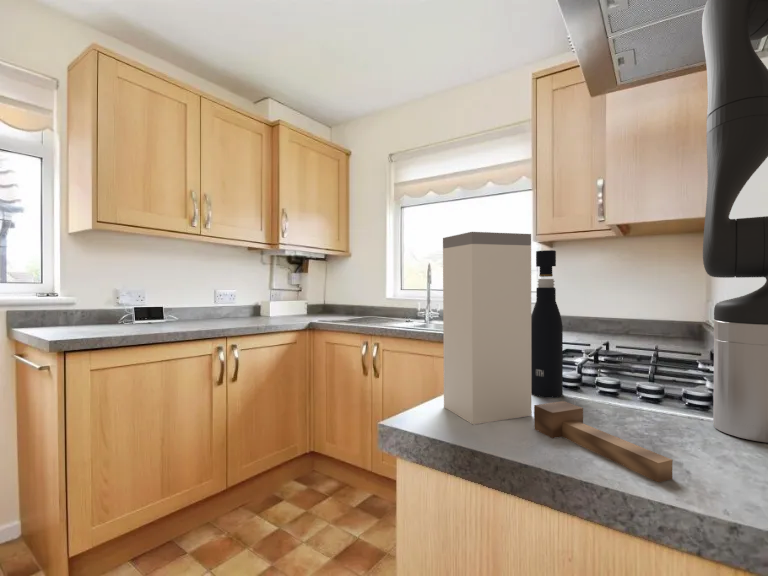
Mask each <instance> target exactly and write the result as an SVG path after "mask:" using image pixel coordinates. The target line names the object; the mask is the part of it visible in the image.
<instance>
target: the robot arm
mask: <svg viewBox="0 0 768 576" xmlns="http://www.w3.org/2000/svg"><path fill="white" fill-rule="evenodd" d="M701 32H702V41H703V49H704V56H705V64H706V65H705V66H706V78H707V79H706V81H707V83H706V86H707V107H706V108H707V110H706V165H707V167H706V169H707V188H706V189H707V190H706V203H705V215H704V226H703V227H704V228H703V240H702V241H703V242H702V263H703V268H704V270H705V272H706V274H707V275H709V276H710V277H712V278H724V279H725V278H727V279H729V278H731V279H733V278H739V279H741V278H742V279H743V278H765V283H764V284H763V285H762V286H761V287H760V288H758V289H756V290H754V291H752V292H748V293H747V294H744V295H741V296H738V297H734V298H730V299H724V300H722V301H719V302H717V303H716V304H715V305H714V307H713V308H714V309H713V404H712V405H713V407H712V408H713V410H712V411H713V412H712V413H713V414H712V415H713V417H712V418H713V419H712V421H713V424H712V425H713V427H714V428H715V429H717V430H718V431H720V432H722V433H725V434H728V435H731V436H733V437H737V438H741V439H746V440H747V441H748V440H749V441H753V442H754V441H755V442H761V443H768V216H767V215H766V216H754V217H742V218H741V217H740V218H730V215H731V211H732V208H733V206H734V204H735V202H736V200H737V198H738V196H739V195H740V193H741V191H742V190H743V188H744V187H745V186H746V184H747V183H748V182H749V180H750V179H751V177H752V176H753V175H754V174H755V172H756V171H757V170H758V169H759V168H760V167H761V165H762V164H763V163H764V162H765V161H766V160H767V159H768V68H767V66H766V64H765V63H764V62H763V61H762V59H761V58H760V57H759V55H758V54H757V52H756V51H755V49H754V46H753V44H752V41H756V40H757V41H758V40H760V39H763V38H765V37H767V36H768V0H706V3H705V5H704V8H703V13H702V19H701Z"/></svg>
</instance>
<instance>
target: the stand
mask: <svg viewBox="0 0 768 576" xmlns="http://www.w3.org/2000/svg"><path fill="white" fill-rule="evenodd" d="M442 272H443V273H442V289H443V290H442V293H443V294H442V298H443V299H442V300H443V301H442V302H443V304H442V305H443V308H442V310H443V313H442V315H443V316H442V317H443V319H442V320H443V322H442V323H443V327H442V328H443V329H442V331H443V335H442V336H443V340H442V341H443V408H444V409H446V410H448V411H450V412H451V413H453V414H454V415H456V416H458V417H460V418H461V419H463V420H464V421H467V422H468V423H469V424H471V425H478V424H485V423H492V422H497V421H507V420H511V419H519V418H526V417H531V416H532V410H533V409H532V394H531V316H532V233H516V232H515V233H514V232H513V233H511V232H491V231H490V232H487V231H485V232H484V231H483V232H482V231H469V232H465V233H464V232H463V233H459V234H455V235H450V236H446V237H443V238H442Z"/></svg>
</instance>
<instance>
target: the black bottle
mask: <svg viewBox="0 0 768 576" xmlns="http://www.w3.org/2000/svg"><path fill="white" fill-rule="evenodd" d="M535 263H536V264H535V267H539V275H538V276H539V277H543V278H538V279H537V281H536V282H537V287H536V297H535V298H536V301H535V304H534V307H533V309H532V311H531V395H534V396H537V397H542V398H549V399H550V398H551V399H552V398H554V399H555V398H560V397H562V396H563V393H564V392H563V389H564V387H563V386H564V385H563V384H564V380H563V373H564V371H563V369H564V368H563V364H564V363H563V361H564V359H563V358H564V357H563V356H564V355H563V351H564V350H563V349H564V348H563V347H564V346H563V345H564V344H563V339H564V338H563V337H564V336H563V334H564V333H563V332H564V331H563V329H564V328H563V327H564V326H563V321H562V316H561V311H560V309H559V306H558V304H557V302H556V296H557V295H556V294H557V293H556V291H557V290H556V289H557V288H556V287H554V286H555V280H554V279H555V278H548V277H553V267H557V251H556V250H555V249H554V250H551V249H550V250H548V249H547V250H546V249H545V250H537V251H535ZM545 277H547V278H545Z"/></svg>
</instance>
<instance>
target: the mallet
mask: <svg viewBox="0 0 768 576" xmlns="http://www.w3.org/2000/svg"><path fill="white" fill-rule="evenodd" d="M533 406H534V407H533V409H534V412H533V413H534V416H533V420H534V421H533V423H534V425H533V429H534V430H535V431H537V432H539V433H540V434H543V435H544V436H547V437H549V438H551V439H557V438H558V439H559V438H564V439H565V440H568V441H569V442H572V443H575V444H577V445H578V446H580V447H582V448H585V449H587V450H588V451H591V452H593V453H595V454H597V455H600V456H601V457H604V458H606V459H608V460H610V461H612V462H614V463H616V464H618V465H620V466H623V467H624V468H627V469H629V470H630V471H633V472H635V473H637V474H640V475H642V476H643V477H644V478H645V477H646V478H648V479H650V480H652V481H654V482H656V483H663V482H666V481H669V480H670V481H671V480H673V459H672V458H668V457H667V456H664V455H661V454H659V453H657V452H655V451H652V450H650V449H648V448H644V447H642V446H640V445H637V444H634V443H632V442H631V441H630V442H629V441H627V440H625V439H623V438H620V437H617V436H616V435H613V434H611V433H608V432H605V431H603V430H601V429H598V428H595V427H593V426H590V425H588V424H585V423H584V407H581V406H578V405H576V404H573V403H570V402H568V401H564V400H562V401H561V400H560V401H554V402H547V403H542V404H541V403H540V404H535V405H533Z"/></svg>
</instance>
